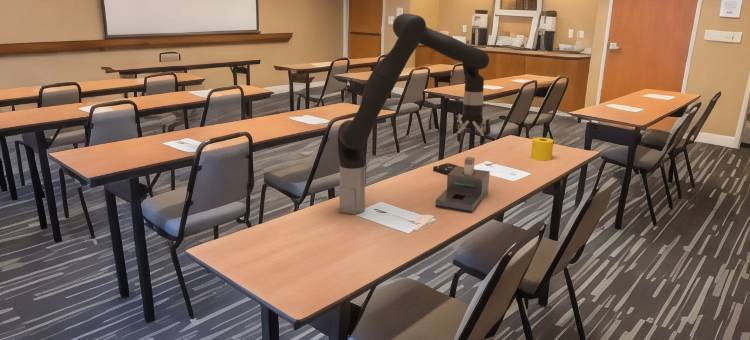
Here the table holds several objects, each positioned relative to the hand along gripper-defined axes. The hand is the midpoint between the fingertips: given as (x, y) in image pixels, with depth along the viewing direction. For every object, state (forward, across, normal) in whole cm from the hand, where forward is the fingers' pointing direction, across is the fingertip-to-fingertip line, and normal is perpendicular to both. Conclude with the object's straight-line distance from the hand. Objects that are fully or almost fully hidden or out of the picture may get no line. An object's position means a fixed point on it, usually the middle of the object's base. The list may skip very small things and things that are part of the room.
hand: (470, 143), depth 215 cm
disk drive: (+22, -14, +26) cm, 37 cm away
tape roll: (+22, +19, +70) cm, 76 cm away
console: (+21, 0, -6) cm, 22 cm away
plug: (+14, 0, 0) cm, 14 cm away
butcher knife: (+22, -7, -37) cm, 43 cm away
